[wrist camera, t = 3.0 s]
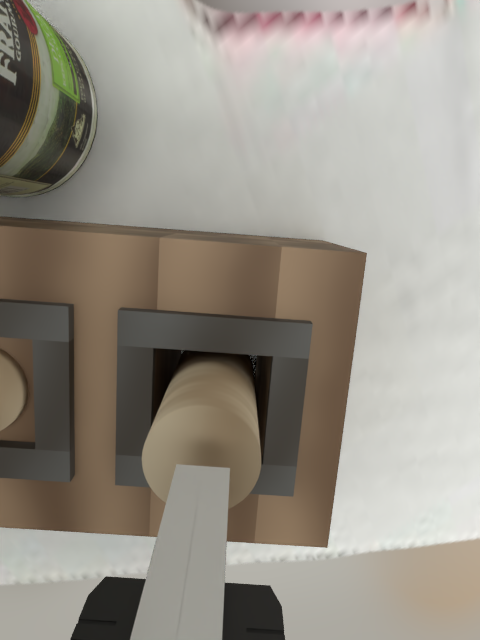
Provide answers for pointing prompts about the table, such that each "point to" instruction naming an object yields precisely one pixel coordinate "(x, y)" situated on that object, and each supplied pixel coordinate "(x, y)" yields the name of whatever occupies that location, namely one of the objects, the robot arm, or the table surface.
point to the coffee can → (40, 104)
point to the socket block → (167, 368)
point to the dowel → (206, 423)
